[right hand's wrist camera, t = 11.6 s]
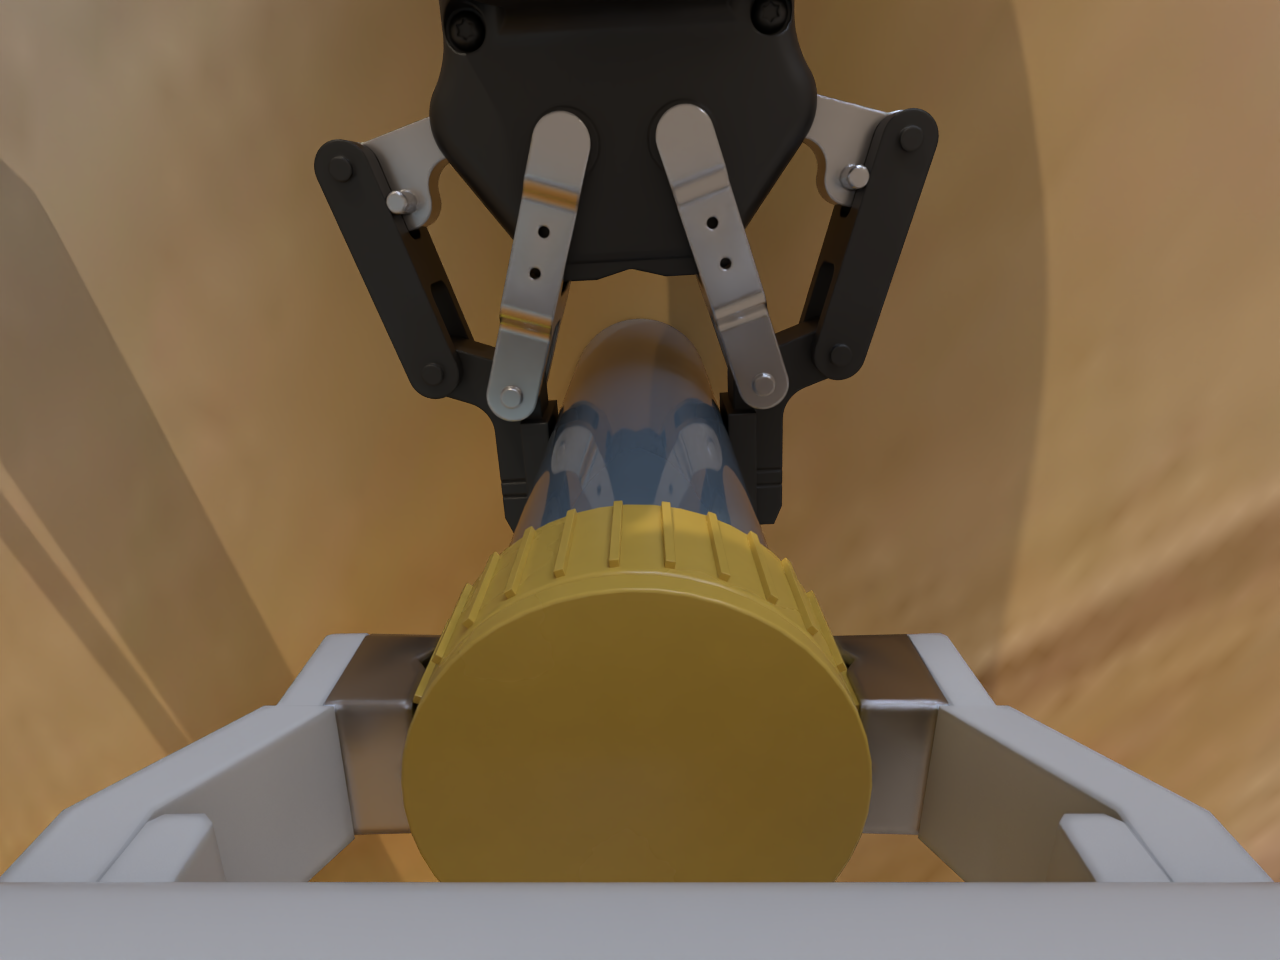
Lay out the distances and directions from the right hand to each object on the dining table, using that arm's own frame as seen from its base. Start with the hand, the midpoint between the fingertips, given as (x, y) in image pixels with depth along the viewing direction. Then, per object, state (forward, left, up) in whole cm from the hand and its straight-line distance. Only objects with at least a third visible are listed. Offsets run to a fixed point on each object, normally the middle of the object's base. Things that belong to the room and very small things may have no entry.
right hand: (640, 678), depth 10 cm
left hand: (-3, +1, -11) cm, 11 cm away
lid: (0, 0, +2) cm, 2 cm away
